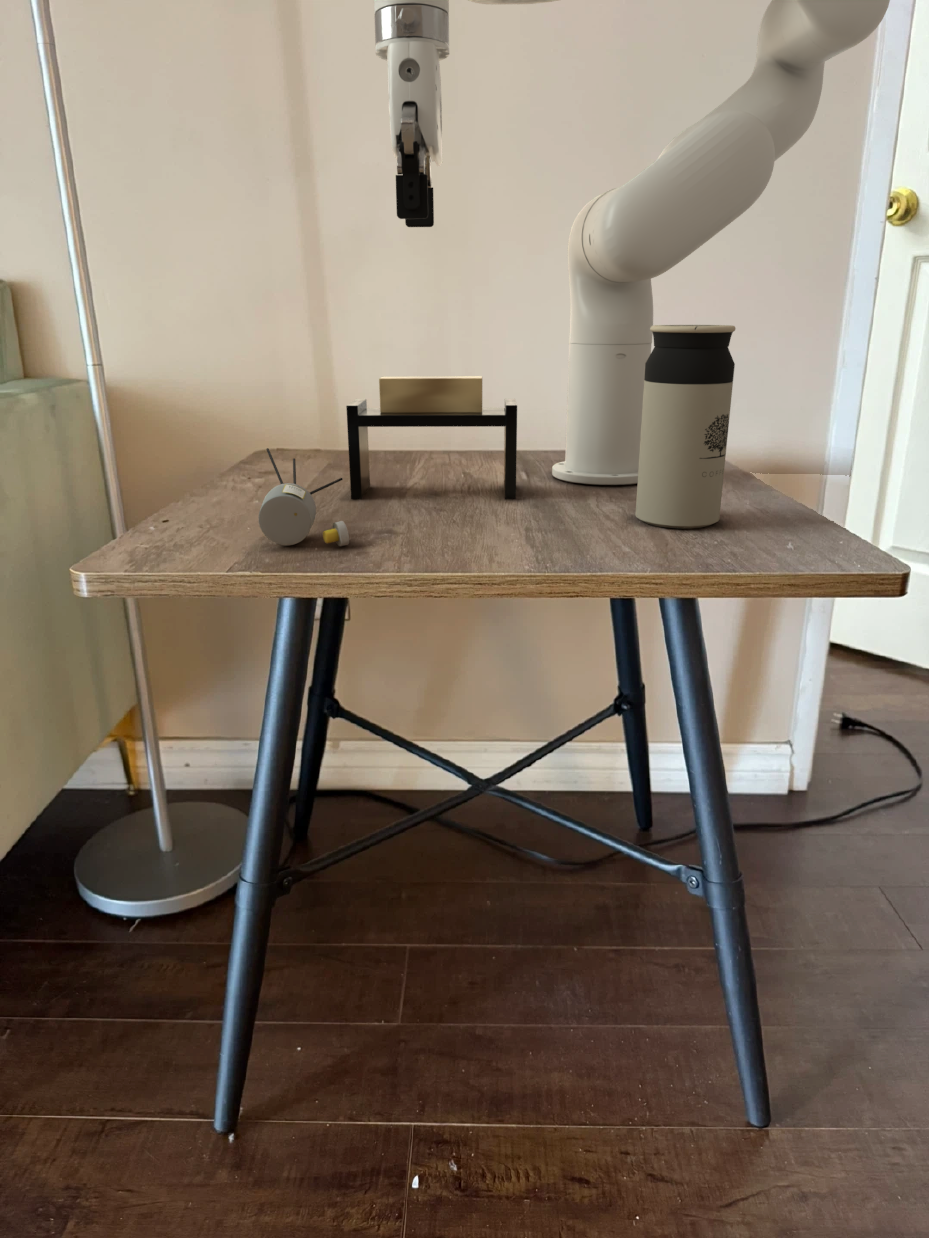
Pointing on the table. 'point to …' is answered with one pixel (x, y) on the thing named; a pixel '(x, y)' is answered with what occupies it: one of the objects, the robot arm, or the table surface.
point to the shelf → (371, 417)
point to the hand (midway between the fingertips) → (416, 223)
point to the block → (431, 394)
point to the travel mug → (685, 425)
